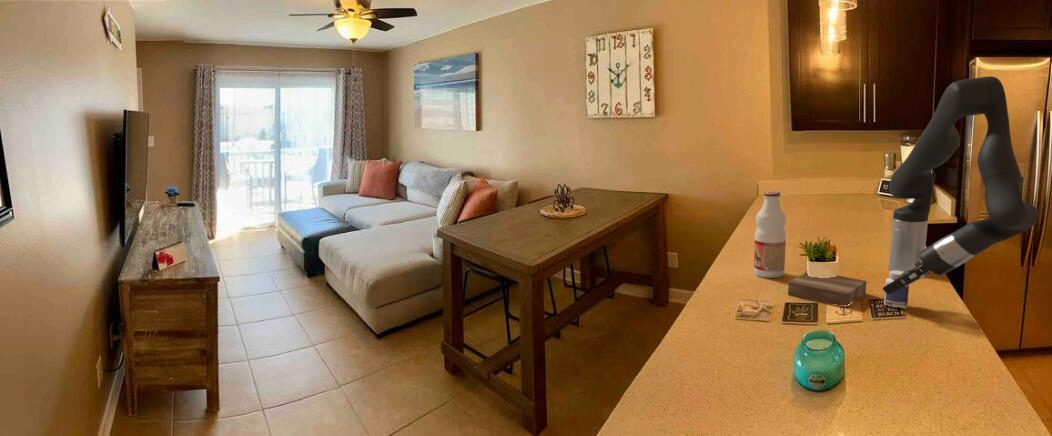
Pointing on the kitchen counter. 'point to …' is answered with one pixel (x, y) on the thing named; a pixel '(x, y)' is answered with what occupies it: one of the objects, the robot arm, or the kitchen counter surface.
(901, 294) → the pill bottle
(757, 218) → the fruit juice
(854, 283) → the walnut base
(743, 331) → the kitchen counter surface
